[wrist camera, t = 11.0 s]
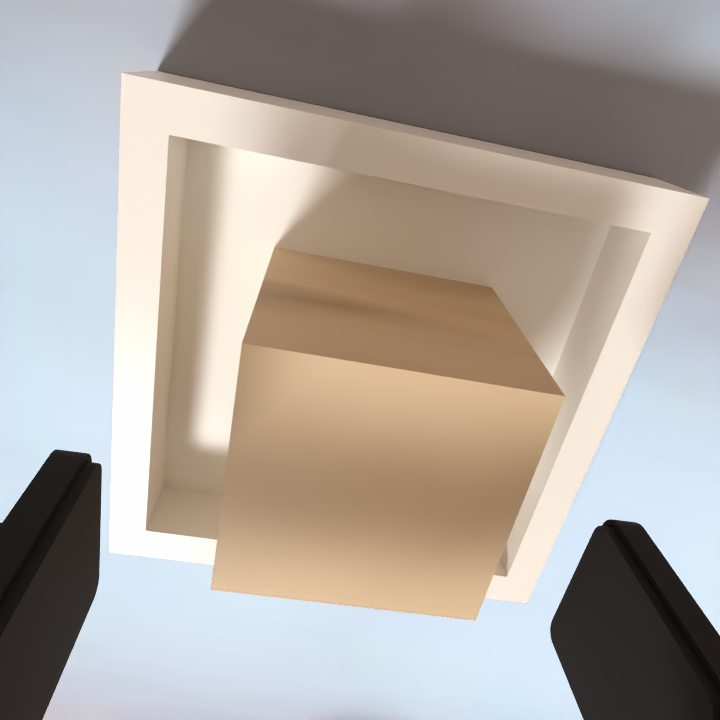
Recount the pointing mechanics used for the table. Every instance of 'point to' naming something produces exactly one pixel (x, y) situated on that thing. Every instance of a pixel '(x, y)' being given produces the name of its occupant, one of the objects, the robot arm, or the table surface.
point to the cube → (378, 439)
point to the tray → (367, 246)
